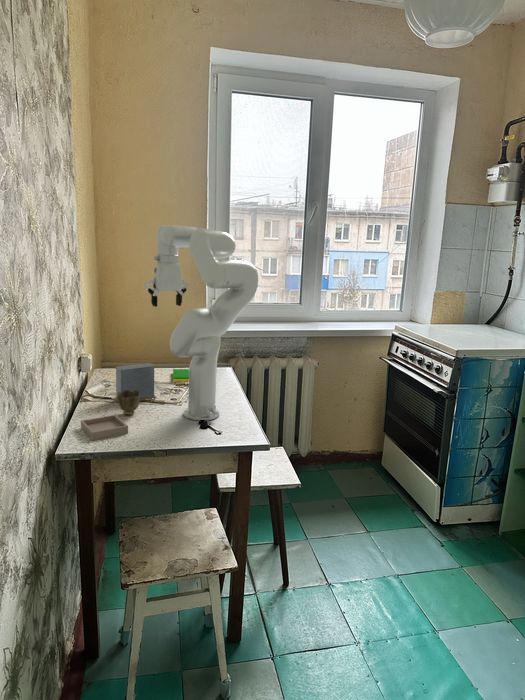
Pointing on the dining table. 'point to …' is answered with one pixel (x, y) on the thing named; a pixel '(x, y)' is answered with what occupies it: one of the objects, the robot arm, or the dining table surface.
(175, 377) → the dish sponge
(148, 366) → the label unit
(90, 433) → the tray
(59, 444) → the dining table surface
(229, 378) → the dining table surface
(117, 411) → the dining table surface
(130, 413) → the cup
